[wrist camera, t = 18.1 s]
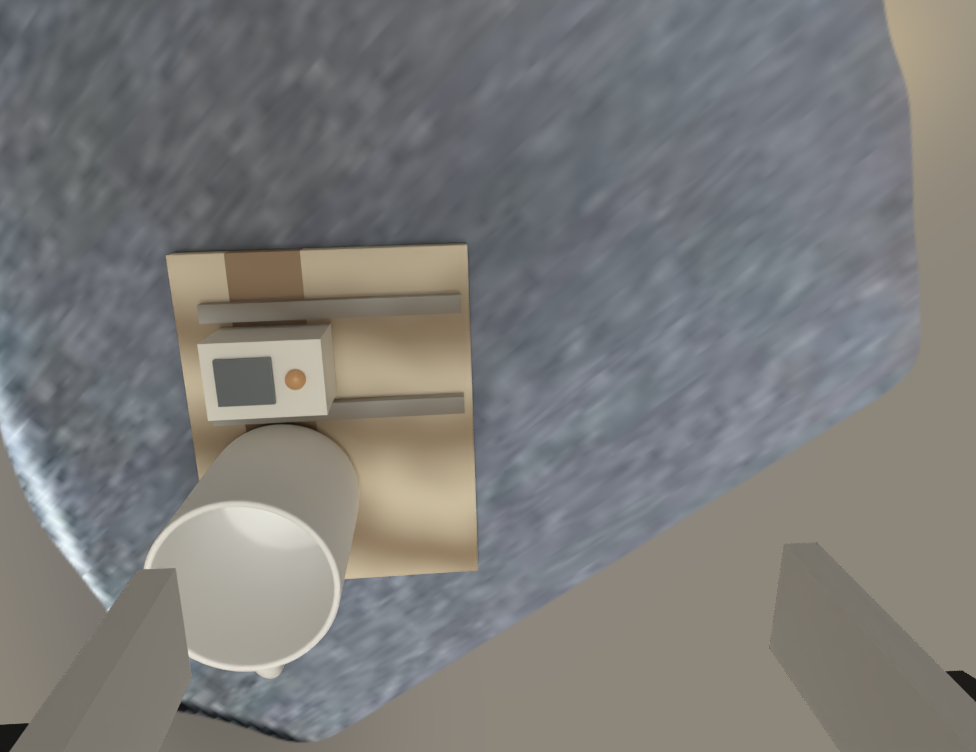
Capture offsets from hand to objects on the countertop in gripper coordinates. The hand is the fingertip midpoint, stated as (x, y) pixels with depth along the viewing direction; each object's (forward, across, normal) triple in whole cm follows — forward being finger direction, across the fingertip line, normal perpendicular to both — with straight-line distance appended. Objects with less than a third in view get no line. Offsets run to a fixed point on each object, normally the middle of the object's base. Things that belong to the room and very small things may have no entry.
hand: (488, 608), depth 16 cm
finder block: (+26, -10, -2) cm, 28 cm away
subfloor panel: (+27, -7, -6) cm, 28 cm away
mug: (+26, -10, -11) cm, 30 cm away
